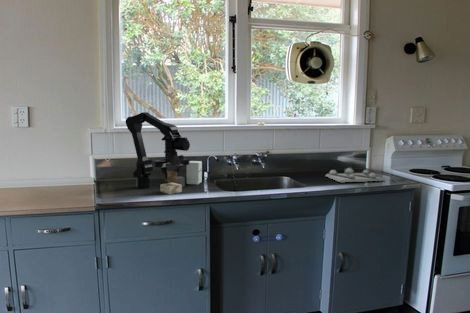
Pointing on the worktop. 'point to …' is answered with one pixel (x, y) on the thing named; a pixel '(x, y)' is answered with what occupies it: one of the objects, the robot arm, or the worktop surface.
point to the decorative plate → (353, 176)
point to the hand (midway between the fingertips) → (170, 178)
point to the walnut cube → (171, 176)
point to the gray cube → (180, 181)
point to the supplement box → (194, 172)
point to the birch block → (171, 188)
